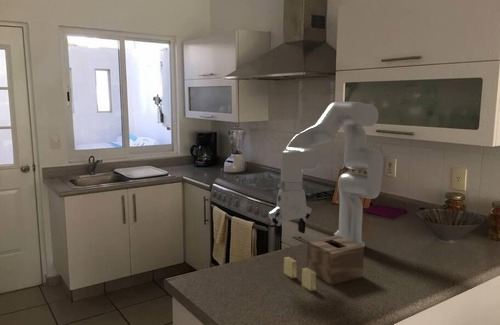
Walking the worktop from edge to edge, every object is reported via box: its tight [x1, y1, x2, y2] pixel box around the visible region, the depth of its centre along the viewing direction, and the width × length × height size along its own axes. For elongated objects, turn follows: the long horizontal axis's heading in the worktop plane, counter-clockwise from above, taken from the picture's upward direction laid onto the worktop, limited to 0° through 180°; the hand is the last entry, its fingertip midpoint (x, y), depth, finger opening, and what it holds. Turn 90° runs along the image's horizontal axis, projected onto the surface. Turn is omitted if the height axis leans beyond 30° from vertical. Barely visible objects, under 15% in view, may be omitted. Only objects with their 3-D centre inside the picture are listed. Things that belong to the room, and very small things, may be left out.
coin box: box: [306, 235, 365, 286], centre depth 149 cm, size 14×14×11 cm
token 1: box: [283, 256, 298, 279], centre depth 148 cm, size 5×2×6 cm, turn 28°
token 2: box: [301, 266, 317, 292], centre depth 138 cm, size 5×2×6 cm, turn 28°
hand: (290, 234), depth 146 cm, fingers open, 9 cm apart
